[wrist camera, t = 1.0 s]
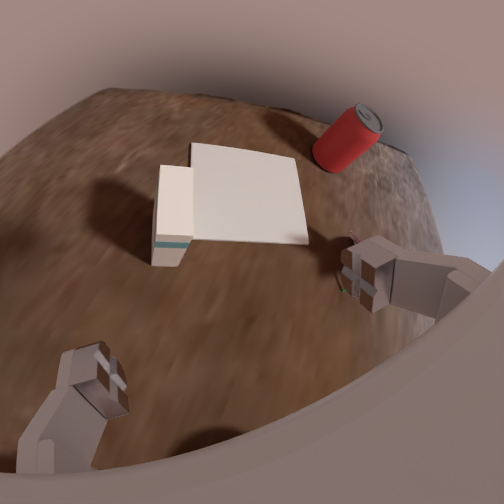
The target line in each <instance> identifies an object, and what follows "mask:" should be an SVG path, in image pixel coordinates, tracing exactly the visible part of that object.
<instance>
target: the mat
mask: <svg viewBox="0 0 504 504" xmlns="http://www.w3.org/2000/svg"><path fill="white" fill-rule="evenodd" d="M191 168H194V175H193V234H194V236H193V238H192V240H212V241H235V242H256V243H277V244H297V245H309V240H308V233H307V227H306V220H305V214H304V208H303V202H302V196H301V190H300V185H299V179H298V174H297V168H296V163H295V159H293V158H288V157H283V156H278V155H273V154H267V153H262V152H256V151H250V150H244V149H237V148H231V147H224V146H216V145H209V144H200V143H192V144H191Z"/></svg>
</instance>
